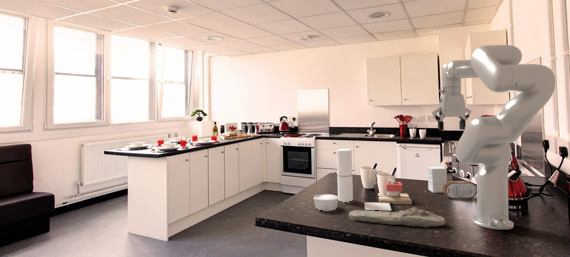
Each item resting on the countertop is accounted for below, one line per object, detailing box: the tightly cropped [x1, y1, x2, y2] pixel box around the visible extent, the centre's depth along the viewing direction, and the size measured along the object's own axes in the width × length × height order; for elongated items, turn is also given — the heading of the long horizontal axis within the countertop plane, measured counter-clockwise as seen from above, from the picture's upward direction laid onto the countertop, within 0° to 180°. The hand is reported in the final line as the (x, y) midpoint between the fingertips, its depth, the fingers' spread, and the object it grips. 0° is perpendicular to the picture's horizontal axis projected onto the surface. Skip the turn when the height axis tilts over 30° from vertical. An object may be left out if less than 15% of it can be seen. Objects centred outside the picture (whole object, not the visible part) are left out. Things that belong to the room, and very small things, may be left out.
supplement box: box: [427, 166, 448, 194], centre depth 165 cm, size 7×7×13 cm
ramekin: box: [313, 193, 339, 212], centre depth 141 cm, size 11×11×5 cm
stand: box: [377, 180, 413, 205], centre depth 151 cm, size 14×14×9 cm
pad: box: [364, 202, 392, 212], centre depth 140 cm, size 11×11×1 cm
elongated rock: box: [348, 206, 446, 228], centre depth 121 cm, size 35×5×10 cm
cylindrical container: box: [336, 148, 354, 203], centre depth 153 cm, size 7×7×25 cm
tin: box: [443, 180, 477, 200], centre depth 150 cm, size 15×3×8 cm, turn 84°
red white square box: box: [385, 181, 403, 192], centre depth 151 cm, size 7×7×3 cm
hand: (451, 129), depth 140 cm, fingers open, 9 cm apart
